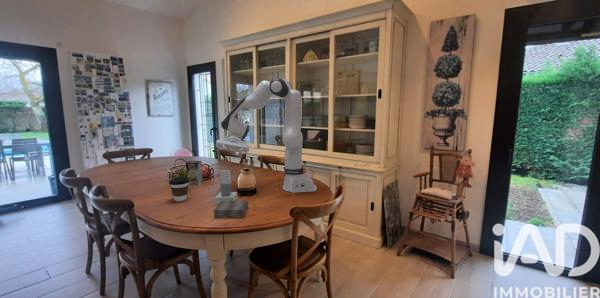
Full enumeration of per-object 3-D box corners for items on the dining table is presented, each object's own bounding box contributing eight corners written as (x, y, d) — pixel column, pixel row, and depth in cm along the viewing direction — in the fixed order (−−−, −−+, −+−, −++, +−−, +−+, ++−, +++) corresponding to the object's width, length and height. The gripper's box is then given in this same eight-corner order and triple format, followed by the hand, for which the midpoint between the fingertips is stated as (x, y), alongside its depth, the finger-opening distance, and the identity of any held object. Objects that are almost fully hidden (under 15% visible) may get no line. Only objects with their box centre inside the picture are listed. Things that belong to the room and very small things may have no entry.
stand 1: (237, 198, 165) (237, 192, 164) (233, 204, 155) (233, 197, 154) (220, 198, 165) (220, 192, 164) (215, 204, 155) (215, 197, 154)
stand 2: (248, 207, 150) (247, 200, 149) (243, 217, 136) (242, 209, 136) (222, 207, 150) (221, 200, 149) (214, 217, 136) (214, 210, 135)
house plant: (169, 189, 183) (167, 165, 181) (191, 186, 191) (189, 163, 188) (173, 195, 172) (171, 169, 169) (196, 191, 179) (195, 166, 177)
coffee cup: (184, 195, 171) (183, 176, 169) (194, 199, 164) (192, 179, 162) (167, 200, 163) (165, 180, 161) (176, 204, 156) (174, 183, 154)
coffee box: (186, 185, 194) (184, 162, 192) (190, 182, 201) (189, 160, 198) (199, 185, 193) (197, 162, 191) (203, 182, 200) (201, 160, 197)
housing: (231, 193, 161) (230, 169, 159) (229, 195, 157) (228, 171, 155) (223, 193, 161) (222, 169, 159) (221, 196, 157) (220, 171, 155)
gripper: (217, 135, 176) (215, 141, 163) (249, 141, 182) (250, 147, 169) (215, 145, 178) (213, 151, 165) (247, 150, 183) (248, 157, 170)
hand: (232, 149), depth 167 cm, fingers open, 8 cm apart
